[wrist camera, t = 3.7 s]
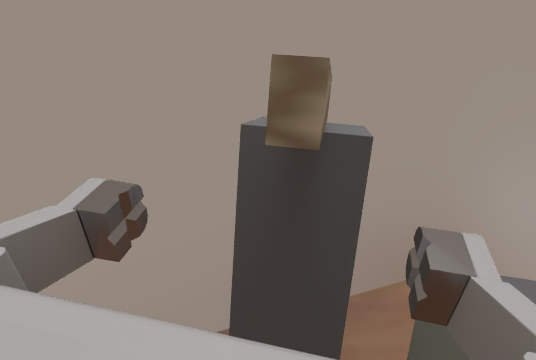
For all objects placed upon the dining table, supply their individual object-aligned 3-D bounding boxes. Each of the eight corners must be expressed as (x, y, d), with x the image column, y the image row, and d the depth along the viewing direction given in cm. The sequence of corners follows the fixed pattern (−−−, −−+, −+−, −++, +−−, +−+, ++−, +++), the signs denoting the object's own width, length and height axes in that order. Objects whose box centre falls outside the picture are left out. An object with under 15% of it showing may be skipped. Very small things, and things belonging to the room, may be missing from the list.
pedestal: (323, 402, 38) (363, 126, 31) (321, 479, 31) (373, 136, 23) (243, 385, 40) (262, 117, 32) (222, 454, 32) (240, 124, 25)
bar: (327, 119, 35) (331, 77, 34) (318, 150, 16) (329, 57, 15) (302, 117, 36) (306, 76, 34) (265, 144, 16) (271, 54, 15)
